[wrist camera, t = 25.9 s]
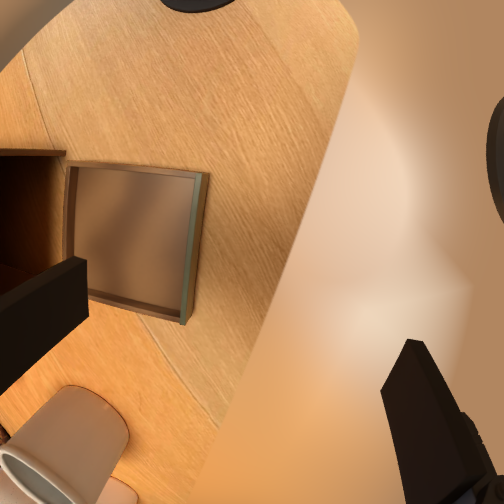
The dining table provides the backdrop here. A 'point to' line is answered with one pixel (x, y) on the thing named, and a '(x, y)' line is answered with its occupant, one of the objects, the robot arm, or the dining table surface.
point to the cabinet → (4, 276)
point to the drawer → (136, 234)
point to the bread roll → (3, 436)
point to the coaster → (195, 5)
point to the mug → (117, 493)
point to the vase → (12, 491)
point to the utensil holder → (66, 448)
